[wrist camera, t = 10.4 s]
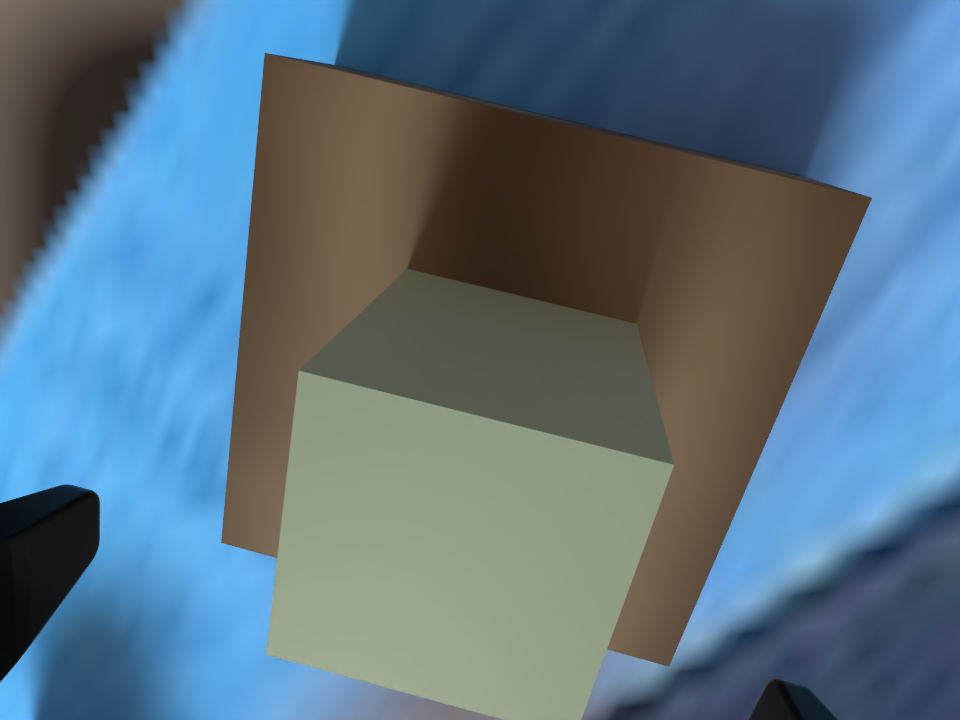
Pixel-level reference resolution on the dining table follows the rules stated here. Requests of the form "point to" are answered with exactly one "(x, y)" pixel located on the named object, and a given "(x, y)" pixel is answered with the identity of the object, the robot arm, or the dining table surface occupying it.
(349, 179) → the walnut riser block
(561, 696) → the sage block
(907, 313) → the dining table surface
